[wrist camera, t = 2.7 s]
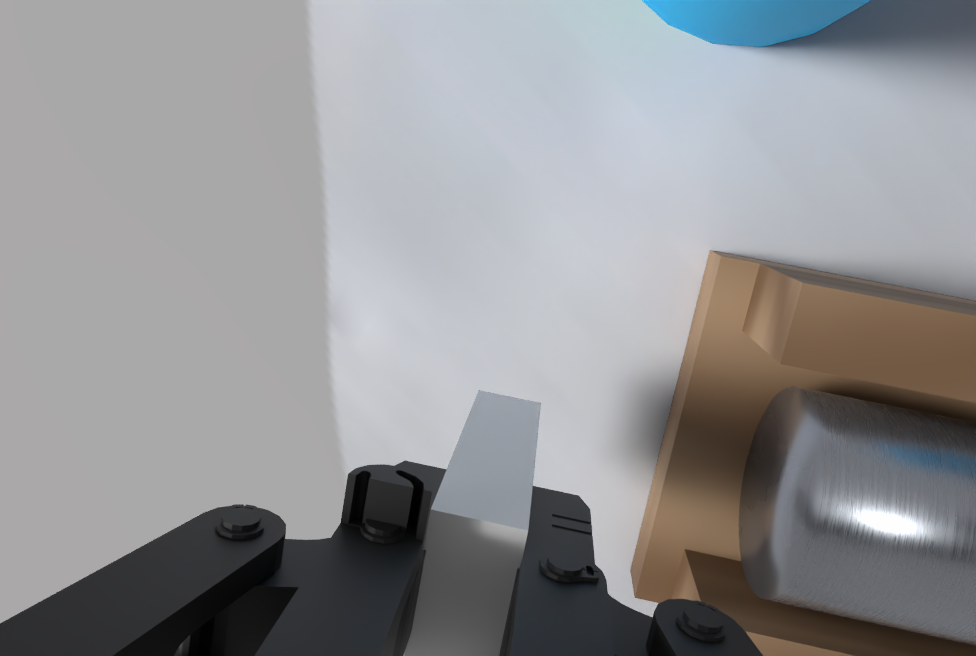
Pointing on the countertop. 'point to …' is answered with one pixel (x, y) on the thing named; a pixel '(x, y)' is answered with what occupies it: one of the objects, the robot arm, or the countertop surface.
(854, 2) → the mug
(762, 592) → the axle
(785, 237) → the countertop surface
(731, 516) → the wooden channel tray
